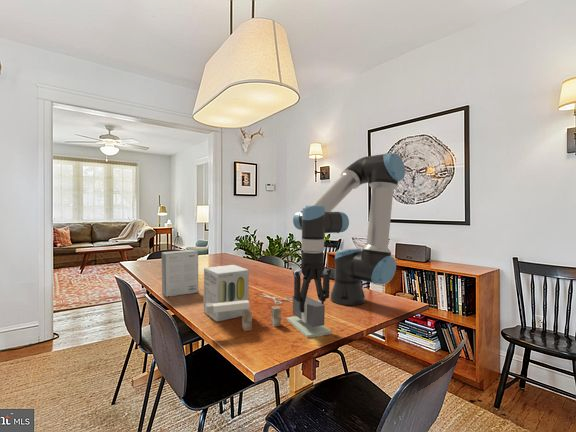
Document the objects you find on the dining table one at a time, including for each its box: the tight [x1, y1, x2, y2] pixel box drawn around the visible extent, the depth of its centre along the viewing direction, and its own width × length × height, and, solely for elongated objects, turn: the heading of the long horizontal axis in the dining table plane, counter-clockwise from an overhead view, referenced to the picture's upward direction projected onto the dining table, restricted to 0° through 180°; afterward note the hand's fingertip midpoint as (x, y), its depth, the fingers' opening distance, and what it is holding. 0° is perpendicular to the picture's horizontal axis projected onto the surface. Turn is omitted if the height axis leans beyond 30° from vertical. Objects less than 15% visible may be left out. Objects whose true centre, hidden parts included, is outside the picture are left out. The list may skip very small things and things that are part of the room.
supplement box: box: [203, 264, 250, 323], centre depth 117 cm, size 13×13×18 cm
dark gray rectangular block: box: [292, 295, 326, 327], centre depth 105 cm, size 4×14×6 cm, turn 26°
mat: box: [286, 315, 333, 339], centre depth 105 cm, size 9×17×1 cm, turn 22°
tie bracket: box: [241, 305, 282, 331], centre depth 105 cm, size 13×3×6 cm, turn 112°
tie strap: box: [205, 300, 251, 315], centre depth 100 cm, size 14×4×2 cm, turn 112°
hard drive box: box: [161, 249, 199, 298], centre depth 145 cm, size 16×8×20 cm, turn 123°
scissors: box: [258, 292, 293, 305], centre depth 139 cm, size 11×1×20 cm
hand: (311, 320), depth 102 cm, fingers closed on dark gray rectangular block, 5 cm apart
